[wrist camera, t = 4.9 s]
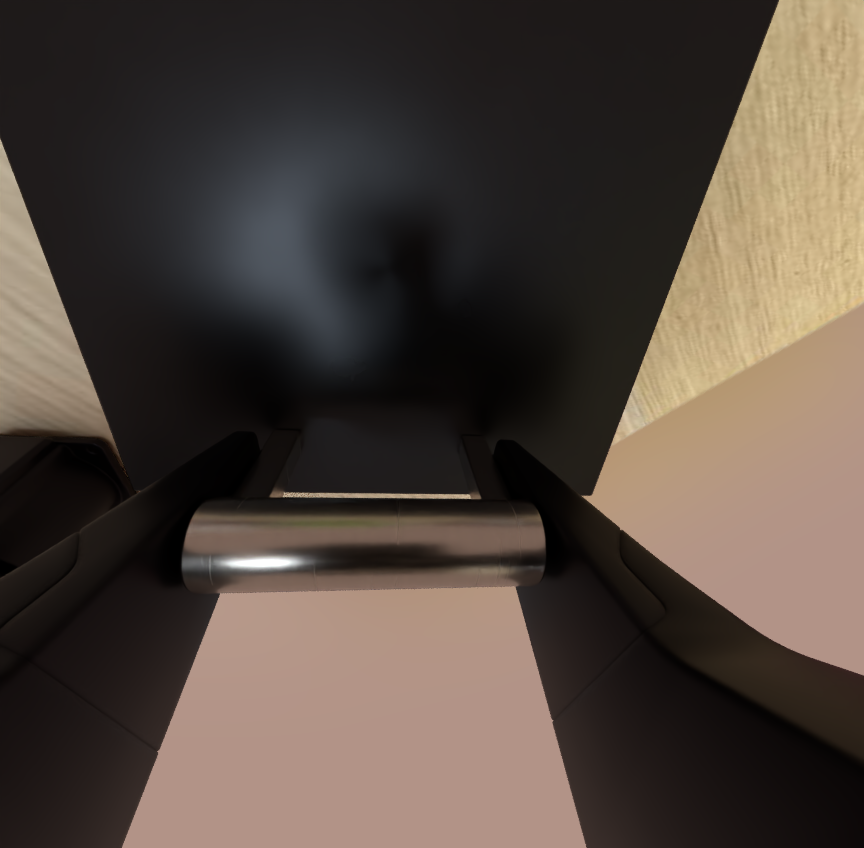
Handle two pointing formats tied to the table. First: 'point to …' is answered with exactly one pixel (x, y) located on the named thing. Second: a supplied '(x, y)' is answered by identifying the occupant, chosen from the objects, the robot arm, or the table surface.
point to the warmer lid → (367, 251)
